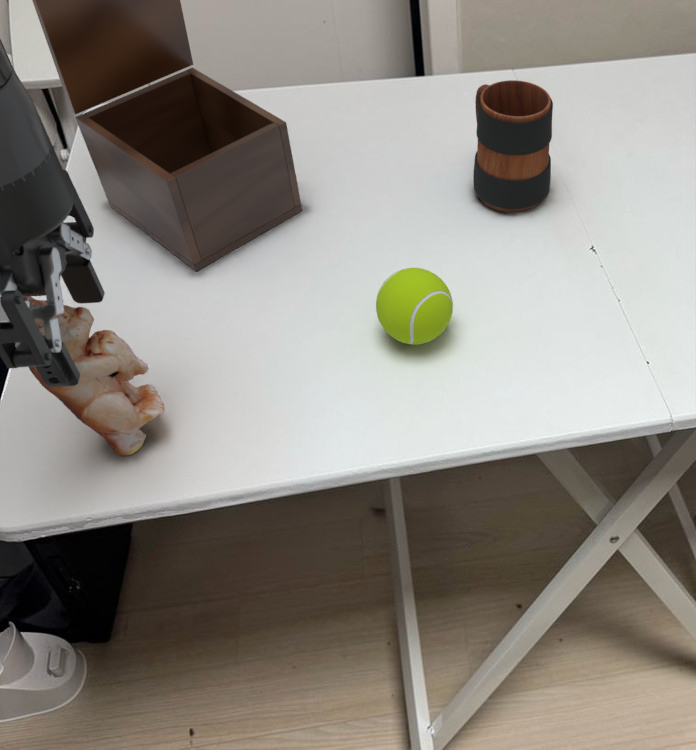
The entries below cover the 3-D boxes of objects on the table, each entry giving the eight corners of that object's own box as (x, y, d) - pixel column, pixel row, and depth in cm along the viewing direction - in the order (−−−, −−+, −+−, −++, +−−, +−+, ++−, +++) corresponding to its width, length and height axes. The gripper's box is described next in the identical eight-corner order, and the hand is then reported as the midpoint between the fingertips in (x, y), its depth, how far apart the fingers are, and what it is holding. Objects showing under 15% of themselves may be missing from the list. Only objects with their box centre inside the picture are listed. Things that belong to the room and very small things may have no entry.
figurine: (180, 441, 70) (125, 313, 59) (87, 479, 67) (10, 351, 56) (159, 393, 73) (103, 263, 62) (69, 427, 70) (-6, 297, 59)
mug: (509, 148, 100) (513, 56, 91) (563, 201, 93) (573, 107, 84) (446, 168, 97) (443, 74, 88) (497, 224, 90) (500, 129, 81)
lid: (160, -99, 76) (126, -120, 78) (16, -57, 69) (-18, -81, 71) (193, 64, 89) (163, 43, 91) (75, 114, 82) (45, 90, 84)
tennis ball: (468, 334, 79) (468, 278, 74) (412, 371, 76) (408, 316, 70) (419, 297, 82) (416, 242, 77) (364, 331, 79) (356, 276, 74)
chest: (302, 210, 91) (286, 122, 83) (196, 271, 84) (167, 181, 76) (215, 154, 98) (192, 67, 90) (110, 206, 91) (74, 116, 82)
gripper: (-47, 91, 54) (49, 278, 66) (-132, 229, 44) (-2, 418, 57) (73, 86, 54) (146, 273, 67) (14, 222, 45) (112, 410, 57)
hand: (78, 339), depth 62 cm, fingers open, 8 cm apart
